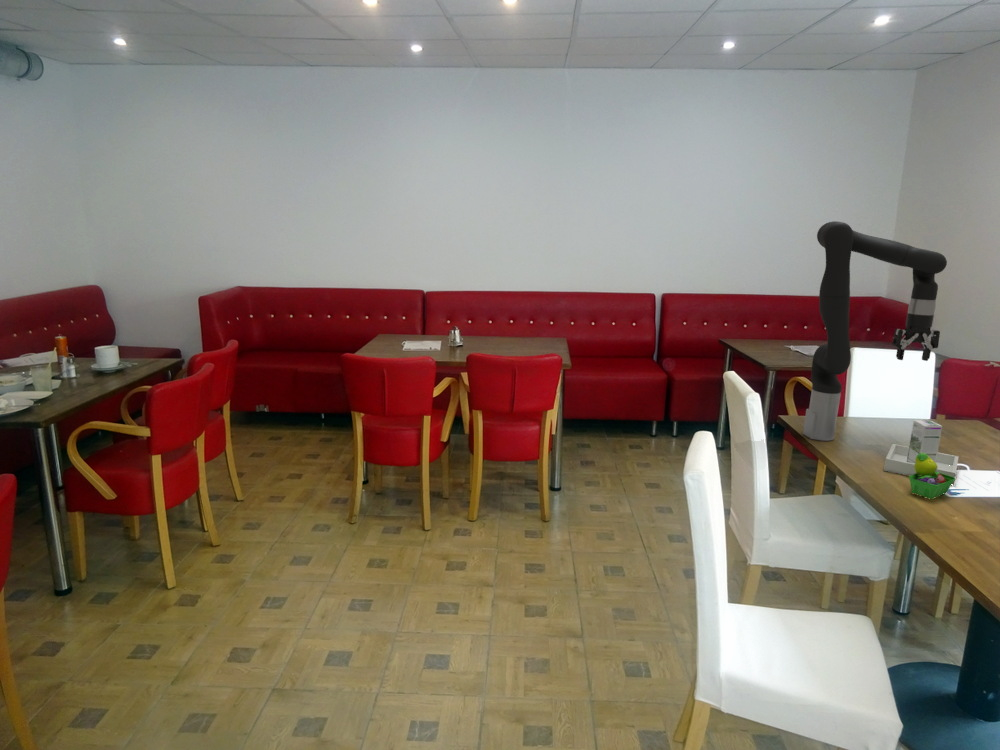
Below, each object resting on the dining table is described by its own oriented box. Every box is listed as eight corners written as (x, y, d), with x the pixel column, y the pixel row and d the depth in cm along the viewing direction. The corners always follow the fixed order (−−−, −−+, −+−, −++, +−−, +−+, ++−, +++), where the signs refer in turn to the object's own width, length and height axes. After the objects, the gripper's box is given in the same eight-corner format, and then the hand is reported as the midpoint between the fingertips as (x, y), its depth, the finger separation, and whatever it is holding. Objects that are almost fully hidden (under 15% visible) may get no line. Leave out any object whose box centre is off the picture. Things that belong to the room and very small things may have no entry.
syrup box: (935, 470, 201) (944, 425, 197) (916, 469, 201) (924, 425, 197) (923, 463, 206) (932, 419, 203) (905, 462, 206) (913, 419, 203)
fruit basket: (933, 503, 180) (941, 464, 177) (900, 491, 187) (907, 454, 184) (953, 494, 185) (961, 457, 183) (920, 483, 193) (927, 447, 190)
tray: (953, 485, 192) (955, 473, 191) (883, 470, 202) (885, 458, 201) (956, 468, 206) (958, 456, 205) (891, 454, 216) (893, 443, 215)
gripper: (906, 313, 213) (898, 362, 217) (949, 314, 213) (940, 362, 217) (893, 310, 220) (885, 357, 224) (934, 311, 220) (925, 358, 224)
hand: (912, 359), depth 220 cm, fingers open, 8 cm apart
